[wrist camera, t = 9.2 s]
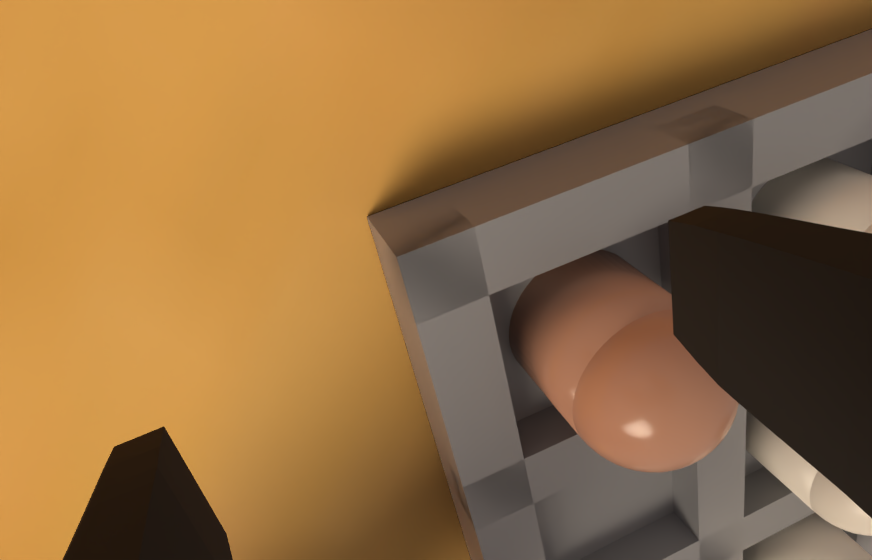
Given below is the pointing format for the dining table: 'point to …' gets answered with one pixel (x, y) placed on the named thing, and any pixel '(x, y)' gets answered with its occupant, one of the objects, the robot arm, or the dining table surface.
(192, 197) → the dining table surface
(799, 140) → the egg tray
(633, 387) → the terracotta egg
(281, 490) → the dining table surface
